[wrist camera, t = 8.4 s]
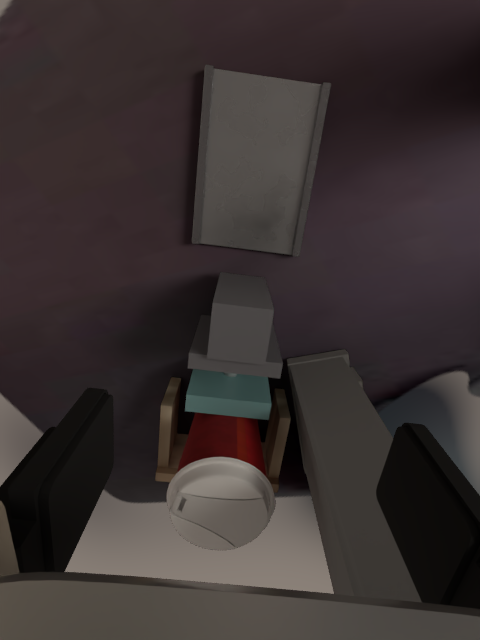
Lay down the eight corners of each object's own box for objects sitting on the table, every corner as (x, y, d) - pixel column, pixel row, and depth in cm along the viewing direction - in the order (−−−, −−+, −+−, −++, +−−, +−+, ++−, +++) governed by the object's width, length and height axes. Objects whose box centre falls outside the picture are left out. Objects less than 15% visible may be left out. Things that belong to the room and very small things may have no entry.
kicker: (281, 279, 31) (297, 312, 22) (264, 382, 34) (271, 444, 26) (203, 270, 30) (189, 299, 22) (194, 375, 34) (178, 435, 26)
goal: (284, 389, 36) (292, 424, 31) (272, 450, 39) (277, 492, 33) (171, 376, 36) (159, 410, 30) (167, 439, 38) (155, 480, 33)
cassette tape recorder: (356, 456, 39) (529, 850, 16) (302, 464, 40) (393, 860, 16) (346, 347, 34) (574, 678, 11) (286, 357, 35) (380, 698, 11)
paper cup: (181, 417, 37) (149, 540, 24) (203, 357, 35) (181, 458, 22) (249, 438, 38) (253, 566, 25) (275, 381, 36) (295, 491, 23)
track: (329, 87, 27) (332, 83, 26) (298, 254, 31) (300, 256, 30) (205, 69, 26) (203, 64, 25) (192, 241, 31) (190, 243, 30)
